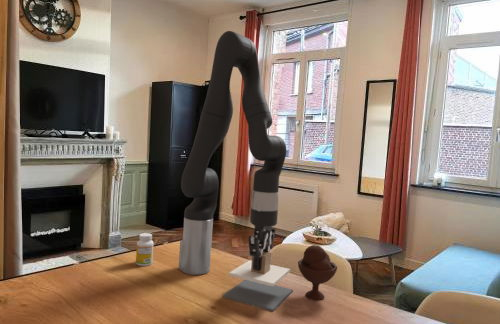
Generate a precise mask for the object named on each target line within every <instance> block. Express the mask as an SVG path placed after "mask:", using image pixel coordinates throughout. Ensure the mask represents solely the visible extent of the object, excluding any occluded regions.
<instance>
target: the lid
mask: <svg viewBox="0 0 500 324" xmlns="http://www.w3.org/2000/svg"><path fill="white" fill-rule="evenodd" d="M259 251H260V249H259ZM253 261H254V256H251V260H248V261H246V262H244V263H243V264H241V265H240V266H238V267H236V268H234V269H233V270H231V271H230V272H229V273H228V276H229V277H233V278H237V279H242V280H249V281H253V282H257V283H261V284H265V285H269V286H274V285H277V284H278V283H280V281H281V280H283V278H285V277H286V276H287V275H288V274H290V272H291V268H287V267H283V266H278V265H275V264H274V265H273V264H271V261H272V252H264V251H263V254H262V265H261V270H260V271H257V270H254V269H253Z"/></svg>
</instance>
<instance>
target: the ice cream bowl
mask: <svg viewBox="0 0 500 324" xmlns="http://www.w3.org/2000/svg"><path fill="white" fill-rule="evenodd" d="M297 265H298V270H299V272H300V273H301V275H302V276H303V277H304V279H305V280H307V282H310V283H311V284H312V289H310V290H308V291H307V292H306V293H305V295H304V296H305V297H306V299H308V300H311V301H316V302H320V301H323V300H324V299H326V298H325V295H324V294H323V293H322V292H321V291H320V290H319V287H320V284H321V285H323V284H325V283H327V282H329V281H330V280H331V279H332V278H333V277H334V276H335V274H336V273H337V270H338V266H337V265H336V264H335V263H334V262H333V261H331V257H330V255H329V254H328V253H327V252H326V251H325V249H324V248H323V247H321V246H320V245H318V244H317V245H316V244H313V245H309V246H308V247H307V248H305V250H304V253H303V257H302V258H301V259H300V260H298V261H297Z"/></svg>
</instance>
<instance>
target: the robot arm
mask: <svg viewBox="0 0 500 324" xmlns="http://www.w3.org/2000/svg"><path fill="white" fill-rule="evenodd" d="M257 51H258V50H257V47H256V45H255V43H254V41H253V40H251V38H248V37H247V36H244V35H242V34H240V33H238V32H235V31H232V30H227V31H225V32H223V33H222V34H221V36H220V37H219V39H218V41H217V44H216V46H215V50H214V54H213V55H214V56H213V62H212V68H211V74H210V79H209V85H208V88H207V93H206V97H205V99H204V102H203V103H204V104H203V106H202V111H201V114H200V118H199V122H198V127H197V130H196V134H195V138H194V141H193V145H192V147H191V151H190V153H189V156H188V159H187V161H186V164H185V167H184V169H183V171H182V175H181V180H180V181H181V182H180V188H181V191H182V194H184V196H185V197H187V198H191V199H193V201H192V202H191V203H190V204H189V205H187V206H186V207H185V209H184V212H183V213H184V214H183V216H184V217H183V231H182V233H183V234H182V239H180V241H179V255H178V256H179V257H178V270H180V271H182V273H183V274H188V275H196V276H197V275H204V274H207V273H209V272H210V271H211V258H212V255H211V254H212V243H213V242H212V239H213V223H214V214H215V212H216V208H217V202H218V195H219V186H220V185H219V183H220V182H219V177H218V174H217V172H216V171H215V170H214V169H213V168H210V167H208V166H209V163H210V161H211V157H212V156H213V154H214V153H215V151H216V150H217V149H218V148H219V146H220V145H221V144H222V142H223V141H224V140H225V137H226V136H227V134H228V132H229V129H230V125H231V122H232V118H233V114H234V106H233V100H232V93H231V87H230V86H231V78H232V74H233V73H232V72H233V70H234V69H233V68H237V69H238V70H239V73H240V75H241V78H242V81H243V90H242V95H241V105H242V110H243V113H244V116H245V120H246V123H247V130H248V149H249V151H250V154H251V155H252V157H253V158H254V159H255V160H257V161H261V162H263V165H262V167H261V168H260V169H257V170H255V172H254V174H253V185H252V186H253V187H252V194H251V203H250V204H251V205H250V217H249V218H250V220H249V223H250V224H251V225H253V226H254V229H253V235H248V238H247V240H248V248H249V251H248V252H249V256H250V257H252V256H254V261H253V269H254V270H257V271H260V270H261V265H262V254H263V251H264V252H269V253H271V250H273V247H274V242H275V240H274V239H275V236H276V230H277V229H276V228H273V227H274V226H277V224H278V216H279V215H278V214H279V213H278V212H279V210H278V209H279V187H280V186H279V185H280V176H281V173H282V170H283V167H284V164H285V160H286V156H287V146H286V142H285V141H284V139H283V138H282V137H281V136H278V135H268V131H267V130H268V129H269V128H270V127H271V126H272V125H273V118H272V115H271V111H270V108H269V104H268V102H267V99H266V95H265V93H264V92H265V91H264V88H263V81H262V76H261V71H260V64H259V57H258V53H257ZM259 250H260V251H259Z"/></svg>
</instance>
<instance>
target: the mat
mask: <svg viewBox="0 0 500 324" xmlns="http://www.w3.org/2000/svg"><path fill="white" fill-rule="evenodd" d="M293 292H294V290H293V288H292V289H291V288H289V287H288V288H287V287H284V286H280V285H277V284H275V285H274V286H269V285H265V284H261V283H257V282H253V281H249V280H245V279H243V280H242V281H241V282H239V283H237V284H236V285H234V287H232V288H230V289H229V290H228V291H226V292H225V293H223V294H222V298H225V299H228V300H232V301H235V302H239V303H242V304H246V305H250V306H253V307H256V308H260V309H262V310H265V311H270V312H274V311H275V310H276V309H277V308H278V307H279V306H280V305H281V304H283V302H284V301H285V300H286V299H287V298H289V296H290V295H291V294H293Z"/></svg>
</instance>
